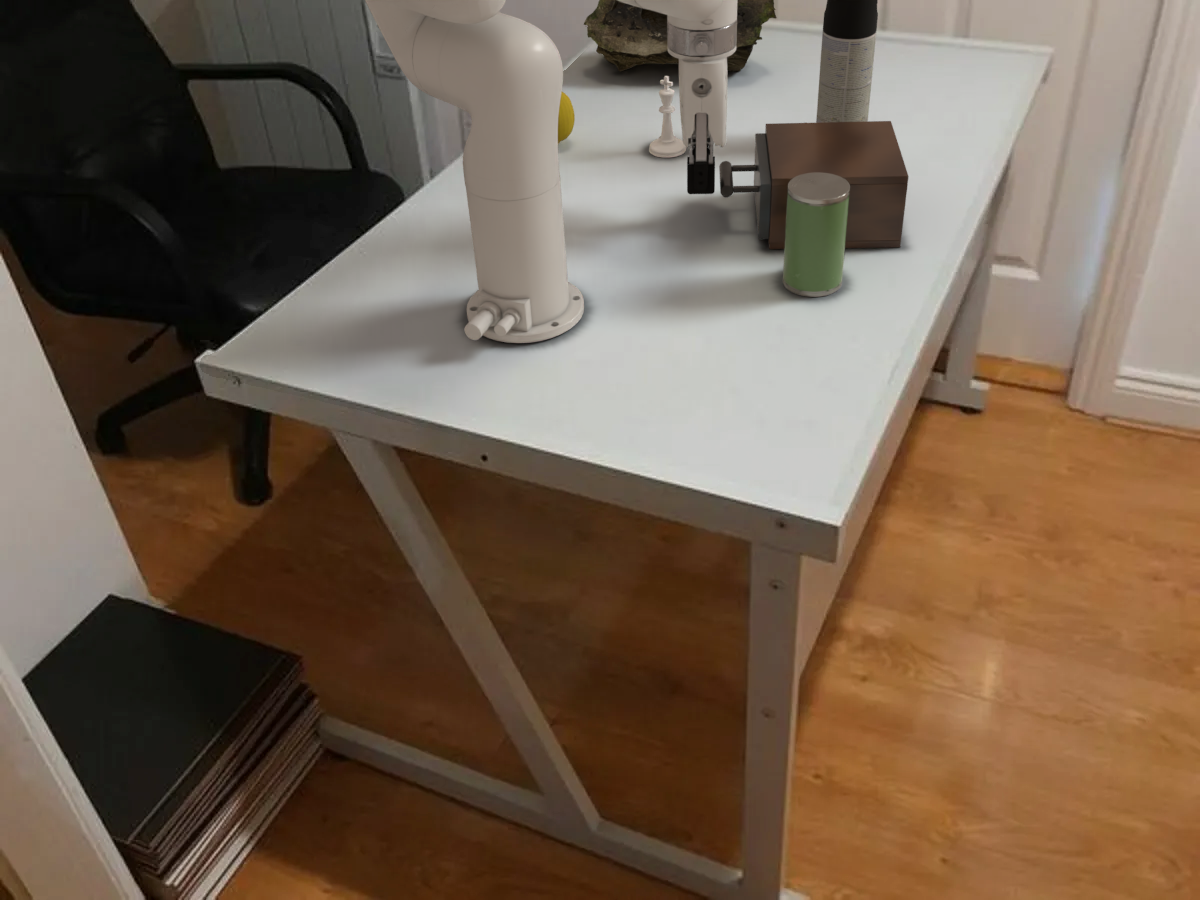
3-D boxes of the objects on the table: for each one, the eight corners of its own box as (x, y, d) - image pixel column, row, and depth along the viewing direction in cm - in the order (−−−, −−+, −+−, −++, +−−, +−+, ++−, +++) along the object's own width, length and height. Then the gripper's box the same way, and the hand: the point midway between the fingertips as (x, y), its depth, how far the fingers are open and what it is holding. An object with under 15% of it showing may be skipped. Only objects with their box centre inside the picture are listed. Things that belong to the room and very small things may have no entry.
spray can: (864, 131, 163) (878, -22, 151) (867, 153, 158) (882, -3, 146) (813, 131, 164) (823, -21, 152) (815, 153, 159) (826, -2, 146)
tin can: (833, 301, 130) (841, 203, 123) (775, 291, 132) (780, 194, 125) (848, 272, 135) (856, 176, 128) (792, 263, 137) (797, 168, 130)
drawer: (720, 240, 140) (721, 184, 136) (718, 186, 151) (718, 134, 146) (879, 237, 139) (884, 181, 134) (865, 184, 149) (870, 130, 145)
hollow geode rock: (771, 102, 184) (790, 7, 185) (763, 68, 172) (783, -34, 173) (595, 83, 191) (614, -8, 192) (574, 49, 179) (595, -49, 180)
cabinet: (769, 249, 140) (772, 178, 134) (762, 190, 151) (765, 123, 146) (900, 247, 139) (908, 176, 133) (883, 188, 150) (891, 120, 145)
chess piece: (672, 160, 159) (671, 86, 153) (641, 152, 162) (639, 79, 155) (693, 147, 162) (693, 73, 156) (662, 139, 165) (661, 66, 158)
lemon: (528, 149, 164) (522, 92, 159) (548, 133, 168) (543, 77, 163) (563, 156, 162) (559, 98, 157) (583, 140, 166) (580, 83, 161)
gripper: (738, 60, 126) (734, 220, 138) (735, 12, 138) (731, 163, 149) (665, 62, 127) (667, 221, 138) (668, 13, 139) (670, 164, 150)
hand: (700, 190), depth 144 cm, fingers closed
